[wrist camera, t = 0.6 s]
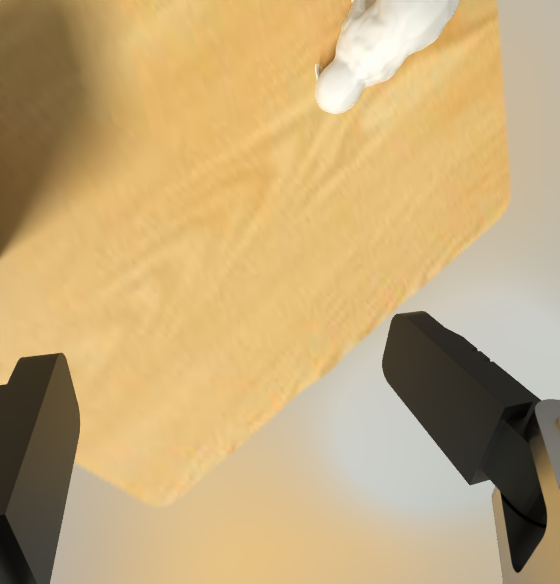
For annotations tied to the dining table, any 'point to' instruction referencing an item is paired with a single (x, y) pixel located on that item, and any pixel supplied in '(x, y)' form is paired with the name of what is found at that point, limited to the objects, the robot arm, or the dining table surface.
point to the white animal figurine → (377, 46)
